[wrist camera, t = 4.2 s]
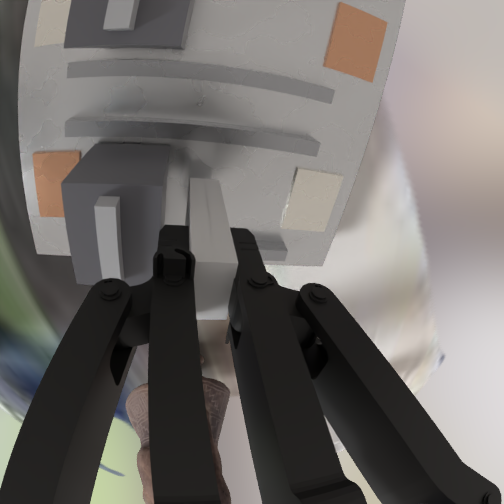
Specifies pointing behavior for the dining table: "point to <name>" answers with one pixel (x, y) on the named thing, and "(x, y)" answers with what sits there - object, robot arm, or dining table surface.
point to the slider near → (128, 24)
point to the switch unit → (216, 112)
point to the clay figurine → (215, 411)
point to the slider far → (116, 211)
